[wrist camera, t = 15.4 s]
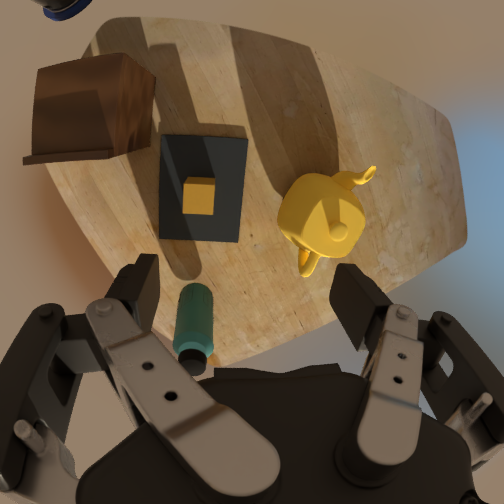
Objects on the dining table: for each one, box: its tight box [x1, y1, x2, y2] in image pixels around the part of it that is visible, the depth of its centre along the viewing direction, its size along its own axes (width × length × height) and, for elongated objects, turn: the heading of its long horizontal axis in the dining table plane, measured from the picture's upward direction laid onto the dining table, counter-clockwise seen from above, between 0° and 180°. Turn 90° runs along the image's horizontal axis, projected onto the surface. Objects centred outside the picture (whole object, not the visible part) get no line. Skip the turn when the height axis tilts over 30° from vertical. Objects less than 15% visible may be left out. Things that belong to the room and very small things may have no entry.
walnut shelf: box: [23, 53, 156, 165], centre depth 30 cm, size 12×12×19 cm
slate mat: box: [159, 135, 248, 243], centre depth 46 cm, size 18×14×1 cm
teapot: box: [277, 166, 376, 277], centre depth 44 cm, size 13×20×12 cm
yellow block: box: [183, 177, 215, 215], centre depth 43 cm, size 4×4×6 cm
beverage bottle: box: [173, 283, 214, 376], centre depth 45 cm, size 6×7×20 cm
